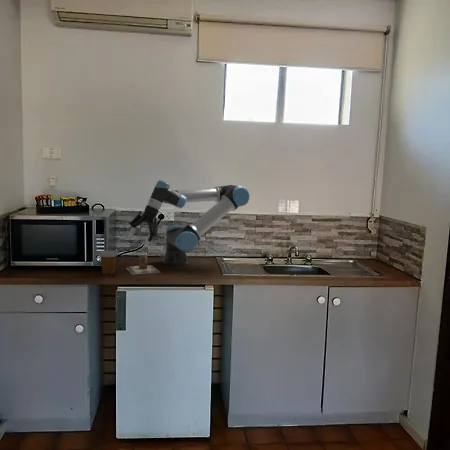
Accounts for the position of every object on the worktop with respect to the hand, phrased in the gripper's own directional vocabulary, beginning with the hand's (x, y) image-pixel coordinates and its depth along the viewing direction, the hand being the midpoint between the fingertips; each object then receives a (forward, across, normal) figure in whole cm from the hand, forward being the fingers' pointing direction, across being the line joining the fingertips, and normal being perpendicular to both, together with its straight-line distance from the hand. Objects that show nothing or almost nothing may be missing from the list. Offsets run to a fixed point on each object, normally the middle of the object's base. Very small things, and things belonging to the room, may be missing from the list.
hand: (137, 242), depth 259 cm
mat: (+14, +6, +8) cm, 17 cm away
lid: (+13, +6, +8) cm, 16 cm away
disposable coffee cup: (+22, -4, -6) cm, 23 cm away
